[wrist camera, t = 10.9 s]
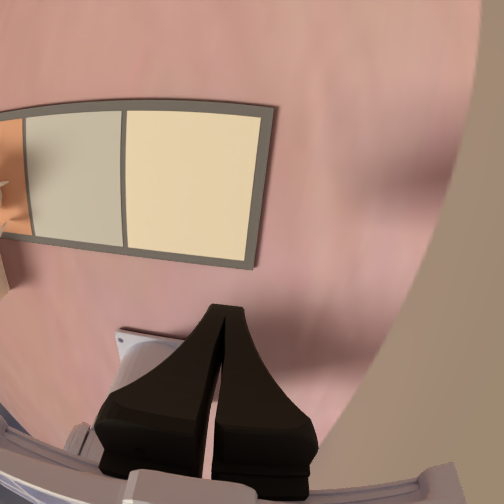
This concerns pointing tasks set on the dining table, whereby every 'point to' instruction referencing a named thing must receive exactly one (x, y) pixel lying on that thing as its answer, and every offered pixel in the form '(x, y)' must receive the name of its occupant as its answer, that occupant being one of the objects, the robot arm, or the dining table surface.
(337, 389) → the dining table surface
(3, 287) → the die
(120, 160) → the game mat
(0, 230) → the rocket toy
